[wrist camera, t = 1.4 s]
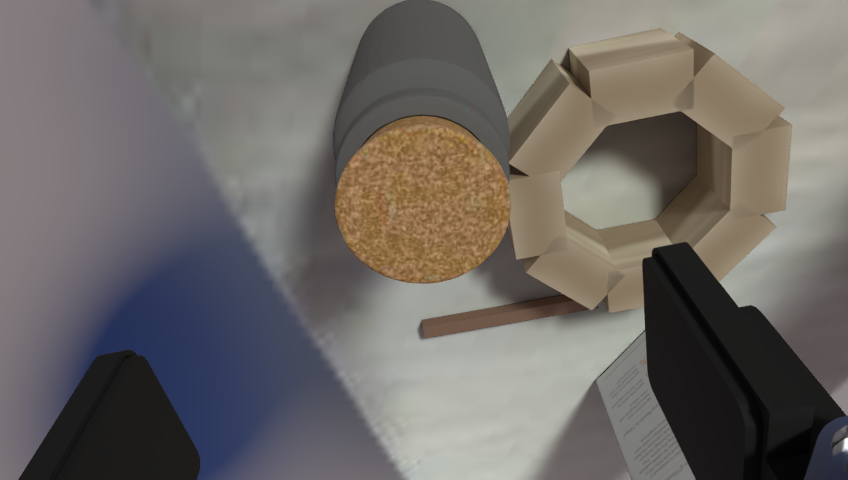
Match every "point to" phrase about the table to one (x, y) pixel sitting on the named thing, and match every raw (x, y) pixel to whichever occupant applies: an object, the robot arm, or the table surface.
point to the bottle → (421, 148)
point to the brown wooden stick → (500, 315)
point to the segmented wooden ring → (626, 101)
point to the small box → (640, 419)
